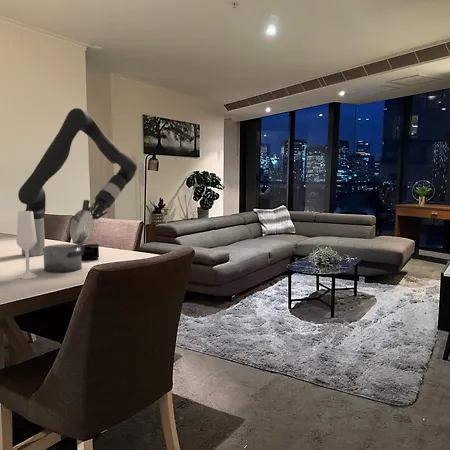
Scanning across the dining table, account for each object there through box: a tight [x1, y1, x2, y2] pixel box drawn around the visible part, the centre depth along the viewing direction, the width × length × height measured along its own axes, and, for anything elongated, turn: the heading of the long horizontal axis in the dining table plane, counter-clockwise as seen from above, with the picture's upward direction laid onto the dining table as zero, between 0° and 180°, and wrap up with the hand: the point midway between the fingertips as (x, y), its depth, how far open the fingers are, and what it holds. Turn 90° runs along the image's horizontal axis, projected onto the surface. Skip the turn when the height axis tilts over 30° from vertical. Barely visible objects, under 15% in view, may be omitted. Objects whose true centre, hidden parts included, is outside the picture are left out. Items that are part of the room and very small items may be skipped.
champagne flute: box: [15, 210, 39, 280], centre depth 146 cm, size 7×7×24 cm
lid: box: [69, 199, 95, 245], centre depth 167 cm, size 19×14×1 cm
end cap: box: [81, 243, 100, 262], centre depth 182 cm, size 10×7×7 cm
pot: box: [43, 243, 86, 274], centre depth 161 cm, size 16×20×9 cm
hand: (84, 225), depth 168 cm, fingers closed
